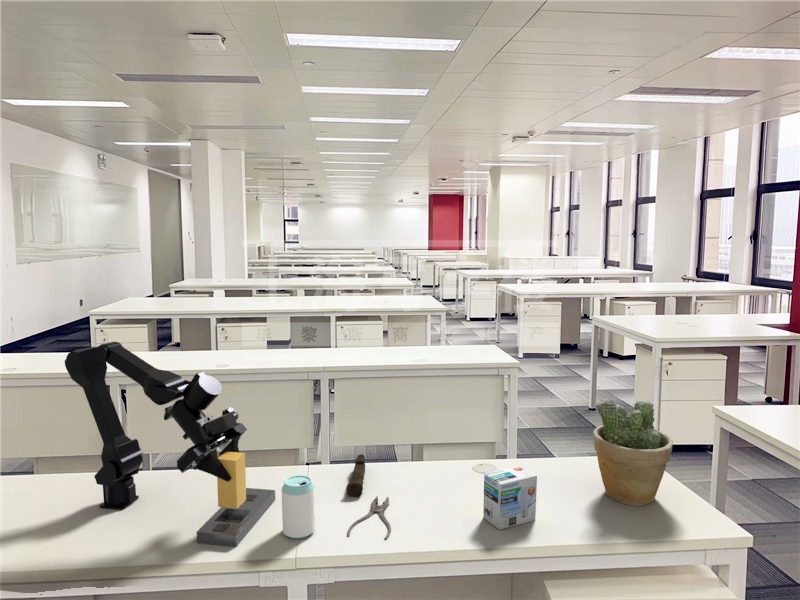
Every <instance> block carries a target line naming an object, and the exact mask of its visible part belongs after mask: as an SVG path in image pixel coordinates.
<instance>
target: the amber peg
mask: <svg viewBox="0 0 800 600" xmlns="http://www.w3.org/2000/svg"><path fill="white" fill-rule="evenodd" d="M218 459H219V461H220V462H221V463H222V465H223V466H224V468H225V469H226V470H227V472H228V473H229V475H230V477H231V480H230V481H228V482H227V481H225V480H223V479H221V478H218V477H216V478H217V480H216V481H217V482H216V483H217V507H218V508H221V507H225V508H235V509H237V508H238V507H239V506H240V505H241V504H242V503H243V502H244V501H245V500H246V488H247V482H246V481H247V480H246V479H247V477H246V476H247V475H246V453H245V452H239V453H238V452H225V453H224V454H223V455H221V456H220V455H219V457H218Z"/></svg>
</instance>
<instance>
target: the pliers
mask: <svg viewBox="0 0 800 600" xmlns="http://www.w3.org/2000/svg"><path fill="white" fill-rule="evenodd" d="M389 497H390V496H387V497H386V498H385V500H384V501H383V502H382V504H380V505H379V497H378V495H377V496H376V497H375V498H374V499H373V500H372V502H371V505H370V509H369V510H368V511H369V512H368V513H367V514H365V515H364V516H363V517H361V518H359V519H357V520H356V521H354V522H353V523H352V524H351V525H350V527H349V528H348V529H347V531H346V533H347V534H346V536H347V537H348V538H349V537H350V536H351V532H352V530H353V528H354V527H356V526H357V525H358V524H360V523H362V522H363V521H365V520H368V519H369V518H371V517H372V516H373V515H375V514H378V516H379V518H380V520H381V521H382V522H383V524H385V526H386V528H387V532H386V535H385V537H384V538H383V539H384V540H385V541H387V540H388V539H389V537H390V535H391V532H392V527H391V523H390V522H389V521H388V519H387V518H386V516H385V511H386V510H387V508H388V507H389V506H390V500H389Z"/></svg>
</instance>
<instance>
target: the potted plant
mask: <svg viewBox="0 0 800 600" xmlns="http://www.w3.org/2000/svg"><path fill="white" fill-rule="evenodd" d="M653 407H654V403H652V402H651V401H649V400H647V399H639V400H637V401H636V402H635V403H634V407H633V410H632V412H631V413H630V414H629V415H628V411H627V409H625V407H624V406H623V405H622V404H615V403H614V400H610V398H603V399H601V400H599V401H597V403H596V406H595V408H596V409H597V411H598V414H599V416H600V417H601V423H602V425H600V426H597V427H596V428H595V429H594V430H593V433H592V434H593V435H592V436H593V443H594V450H595V452H596V457H597V462H598V463H597V464H598V468H599V472H600V475H601V476H600V477H601V481H602V484H603V486H604V491H605V493H606V495H607V496H608V498H610V499H611V500H613V501H615V502H617V503H620V504H624V505H628V506H633V507H635V506H637V507H642V506H646V505H649V504H651V503H653V502H654V500H655V498H656V496H657V492H658V490H659V487H660V484H661V482H662V479H663V477H664V474H665V471H666V467H667V463H669V461H670V459H671V456H672V455H671V454H672V451H673V445H674V440H673V439H672V438H671V437H670V436H669V435H668V434H666V433H664V432H661V431H659V430H658V429H655V426H654V422H655V417H654V415H655V413H654V412H655V409H654V408H653Z"/></svg>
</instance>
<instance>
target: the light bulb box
mask: <svg viewBox="0 0 800 600" xmlns="http://www.w3.org/2000/svg"><path fill="white" fill-rule="evenodd" d="M483 475H484V477H483V479H484V480H483V515H482V517H483V518H484V519H485V520H486V521H487V522H489V523H490V524H491V525H493V526H494V527H496V528H497V529H498V530H505V529H507V528H511V527H514V526H515V527H516V526H519V525H522V524H525V523H529V522H532V521H533V522H534V521H536V513H537V512H536V511H537V508H536V507H537V487H538V486H537V485H538V476H537V475H536V474H534V473H533V472H531V471H530V470H527V469H526V468H523V467H522V466H520V465H517V466H516V465H515V466H514V467H508V468H504V469H501V470H500V469H499V470H496V471H491V472H487V473H484V474H483Z"/></svg>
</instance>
